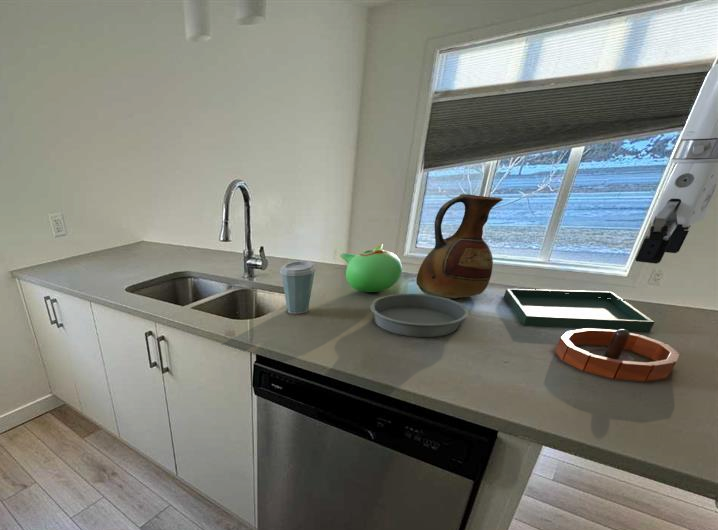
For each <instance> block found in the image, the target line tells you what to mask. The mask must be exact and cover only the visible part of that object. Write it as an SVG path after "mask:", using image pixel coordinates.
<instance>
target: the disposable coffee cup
mask: <svg viewBox="0 0 718 530" xmlns="http://www.w3.org/2000/svg"><path fill="white" fill-rule="evenodd" d="M315 273H316V267H315V264H314V262H313V261H310V260H301V259H300V260H294V261H290V262H287V263H285V264H284V265H282V266H281V268H280V274H281V279H282V286H283V291H284V299H285V304H286V311H287V312H288V313H289V314H293V315H298V314H300V315H301V314H306V313H307V312H308V310H309V306H310V301H311V296H312V289H313V284H314V277H315Z"/></svg>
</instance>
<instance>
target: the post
mask: <svg viewBox="0 0 718 530" xmlns="http://www.w3.org/2000/svg"><path fill="white" fill-rule="evenodd" d="M630 333H631V332H630V331H627V330H625V329H620V330H617V331H616V332H615V333H614V335H613V337H612V339H611V341H610V344H609V346H607V348H595V349H592V350H590V351H589V353H592V354H594V355H599V356H603V357H607V358H612V359H616V360H620V361H634V362H635V358H634V357H633V356H632V355H630V354H628V353H627V352H623V351H624V346H625V344H626V342H627V340H628V338H629V336H630Z"/></svg>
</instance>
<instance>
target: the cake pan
mask: <svg viewBox="0 0 718 530" xmlns="http://www.w3.org/2000/svg"><path fill="white" fill-rule="evenodd" d="M370 310H371V311H372V313H373V315H374V316H373V317H374V322H375V324H376V325H377V326H378V327H379V328H381V329H382V330H385V331H387V332H390V333H393V334H396V335H400V336H406V337H412V338H413V337H414V338H435V337H442V336H446V335H449V334H450V335H451V334H452V333H453V332H455V331H456V330H457V329H458V328H459V326H460V324H461V323H462V322H463V321H464V320H467V318H468V317H469V315H470V312H469V309H468V308H467V307H466V306H465V305H463V304H462V303H460V302H458V301H456V300H453V299H447V298H443V297H439V296H433V295H429V294H426V293H425V294H423V293H396V294H390V295H385V296H382V297H379V298H376V299H375V300H374V301H372V302H371V304H370Z"/></svg>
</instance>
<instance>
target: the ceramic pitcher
mask: <svg viewBox="0 0 718 530" xmlns="http://www.w3.org/2000/svg"><path fill="white" fill-rule="evenodd" d="M503 200H504V199H503V198H502V197H497V196H484V195H477V194H471V193H470V194H469V193H462V194H460V195H458V196H455V197H453V198H451V199H450V200H449V199H448V200H447V201H446V202H445V203H444V204H442V205H441V207H440V208H439V210H438V211H437V213H436V216H435V219H434V240H435V242H434V247H433V248H432V250H431V251H429V253H427V255H426V256H425V257H424V259H423V261H422V263H421V265H420V266H419V269H418V271H417V275H416V286H417V287H418V289H419V290H420V291H422V292H423V293H425V294H426V295H433V296H439V297H443V298H447V299H450V300H452V299H459V298H470V297H474V296H477V295H481V294H482V293H483V292H485V290H486V289H487V287H488V285H489V283H490V280H491V278H492V274H493V267H494V266H493V265H494V257H493V253H492V251H491V249H490V246H489V244H487V242H486V241H485V240H484V238H483V234H484V226H485V225H486V223H487V222H488V219H489V215H490V212H491V211H492V209H493V208H494V207H495V206H496V205H498V204H499V203H501V202H502V201H503ZM457 203H462V204H463V205H464V214H463V217H462V220H461V223H460V225H459V227H458V228H457V230H456V231H455V233H453V235H451V236H448V237H446V238H444V237H443V233H442V224H443V221H444V217H445V215H446V213H447V211H448V210H449V209H450V208H451V207H452V206H454V205H455V204H457Z"/></svg>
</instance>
